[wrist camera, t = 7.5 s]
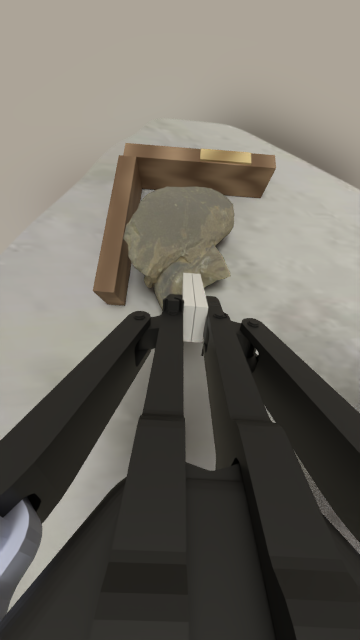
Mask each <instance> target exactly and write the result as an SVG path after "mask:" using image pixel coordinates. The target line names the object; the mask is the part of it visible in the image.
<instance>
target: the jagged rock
mask: <svg viewBox="0 0 360 640" xmlns="http://www.w3.org/2000/svg"><path fill="white" fill-rule="evenodd" d="M233 225H234V210H233V204H232V203H231V201H230V200H229V199H228V198H226V197H225V196H224V195H223V194H221V193H220V192H218V191H216V190H213V189H211V188H206V187H198V186H197V187H165V188H161V189H157V190H155V191H154V192H151V193H149V194H147V195H146V196H145V197H144V198H143V200H142V201H141V202H140V203H139V206H138V209H137V211H136V212H135V213H134V214H133V216H132V218H131V219H130V221H129V223H128V224H127V225H126V229H125V233H124V237H123V239H124V240H125V241H126V242H127V244H128V250H129V252H128V256H129V258H130V260H131V263H132V264H133V265H134V267H135V268H136V269H138V270H139V271H140V272H142V273H143V274H145V277H144V282H145V284H146V286H147V287H148V288H152V287H153V286H154V291H155V294H156V297H157V299H158V301H159V304H160V306H161V308H162V309H163V299H164V298H166V297H167V296H168V295H169V294H179V295H182V283H183V273H194V274H201V279H202V283H203V287H204V288H205V287H206V286H207V285H210V284H212V283H213V282H215V281H216V280H221V279H225V278H227V277H229V276H230V271H229V269H228V267H227V265H226V263H225V260H224V258H223V257H222V255H221V253H220V252H219V251H218V250H217V249H216V247H215V246H216V244H218V243H219V242H220V241H221V240H222V239H223V238H224V237H225V236H227V235H228V234H229V233H230V232H231V230H232V228H233Z"/></svg>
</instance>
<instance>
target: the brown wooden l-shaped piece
mask: <svg viewBox="0 0 360 640" xmlns="http://www.w3.org/2000/svg"><path fill="white" fill-rule="evenodd" d="M275 169H276V162H275V155H264V154H252V153H248V152H236V151H223V150H211V149H191V148H179V147H167V146H155V145H142V144H130V143H126V144H125V149H124V155H123V156H120V155H119V158H118V163H117V168H116V174H115V179H114V184H113V189H112V194H111V199H110V205H109V210H108V215H107V220H106V225H105V230H104V236H103V241H102V246H101V251H100V256H99V262H98V267H97V272H96V277H95V282H94V287H93V291H94V292H95V293H96V294H97V295H98V296H99V297H100V298H101V299H102V300H104V301H105V302H106V303H107V304H111V305H124V306H125V302H126V295H127V288H128V281H129V274H130V267H131V260H130V258H129V256H128V252H129V250H128V244H127V242H126V241H125V240H124V239H123V237H124V233H125V229H126V225H127V224H128V223H129V221H130V219H131V218H132V216H133V214H134V213H135V212H136V211H137V209H138V206H139V203H140V199H141V192H142V189H154V190H157V189H161V188H165V187H197V186H198V187H206V188H211V189H213V190H216V191H218V192H220V193H221V194H223V195H229V196H242V197H254V198H261V196H262V194H263V192H264V191H265V189H266V187H267V185H268V183H269V181H270V179H271V177H272V175H273V173H274V171H275Z"/></svg>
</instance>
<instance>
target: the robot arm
mask: <svg viewBox="0 0 360 640" xmlns="http://www.w3.org/2000/svg"><path fill="white" fill-rule="evenodd" d="M203 337H204V344H203V350H202V355H201V356H203V354H204V360H205V368H206V376H207V384H208V393H209V401H210V409H211V417H212V425H213V433H214V442H215V450H216V470H215V471H208V470H205V469H203V468H200V467H197V466H195V465H192V464H189V463H186V462H185V418H184V413H183V341H187V342H203ZM153 348H155V353H154V358H153V363H152V368H151V373H150V379H149V384H148V389H147V394H146V399H145V404H144V409H143V413H142V415H141V416H140V418H139V421H138V425H137V430H136V435H135V439H134V444H133V449H132V454H131V459H130V463H129V468H128V473H127V477H125V478H124V479H123V480H121V481H120V482H119V483H118V484H117V485H116V486H115V487H114V488H113V489H111V491H110V492H109V493H108V494H107V495H106V496H105V497H104V499H103V500H102V501H101V502H100V503H99V505H98V506H97V507H96V508H95V509H94V511H93V512H92V513H91V514H90V515H89V517H88V518H87V519H86V520H85V521H84V522H83V524H82V525H81V526H80V527H79V528H78V530H77V531H76V532H75V533H74V534H73V536H72V537H71V538H70V539H69V540H68V542H67V543H66V544H65V545H64V546H63V547H62V549H61V550H60V551H59V552H58V553H57V555H56V556H55V557H54V558H53V559H52V561H51V562H50V563H49V564H48V565H47V567H46V568H45V569H44V570H43V571H42V572H41V574H40V575H39V576H38V577H37V578H36V580H35V581H34V582H33V583H32V584H31V586H30V587H29V588H28V589H27V590H26V592H25V593H24V594H23V595H22V596H21V597H20V599H19V600H18V601H17V602H16V603H15V605H14V606H13V607H12V608H11V609H10V611H9V612H8V613H7V610H8V607H9V603H10V600H11V598H12V596H13V593H14V591H15V589H16V587H17V585H18V583H19V581H20V580H21V578H22V577H23V575H24V574H25V572H26V570H27V569H28V567H29V566H30V564H31V562H32V561H33V559H34V557H35V555H36V553H37V551H38V548H39V546H40V542H41V538H42V523H43V522H44V521H45V520H46V518H47V517H48V516H49V514H50V513H51V512H52V510H53V509H54V508H55V506H56V505H57V504H58V503H59V501H60V500H61V499H62V497H63V496H64V494H65V492H66V491H67V489H68V488H69V486H70V485H71V483H72V482H73V480H74V479H75V477H76V475H77V474H78V472H79V470H80V469H81V467H82V465H83V464H84V462H85V460H86V459H87V457H88V455H89V454H90V452H91V450H92V449H93V447H94V445H95V444H96V442H97V440H98V439H99V437H100V435H101V434H102V432H103V430H104V429H105V427H106V425H107V424H108V422H109V420H110V419H111V417H112V415H113V414H114V412H115V410H116V409H117V407H118V405H119V404H120V402H121V400H122V399H123V397H124V395H125V394H126V392H127V390H128V389H129V387H130V385H131V384H132V382H133V380H134V379H135V377H136V375H137V374H138V372H139V370H140V369H141V367H142V365H143V364H144V362H145V360H146V359H147V357H148V355H149V354H150V352H151V349H153ZM256 349H257V351H258V353H259V355H257V354H256V353H255V352H256ZM263 403H264V404H263ZM264 405H265V406H264ZM265 407H266V408H267V410H268V411H269V413H270V414H271V416H272V417H273V419H274V420H275V422H276V423H273V422H272V421H271V420H270V418H269V416H268V414H267V411H266V409H265ZM294 451H295V453H296V454H297V456H298V457H299V459H300V460H301V462H302V463H303V465H304V467H305V468H306V470H307V471H308V473H309V474H310V476H311V477H312V479H313V480H314V482H315V483H316V485H317V487H318V488H319V490H320V491H321V493H322V494H323V496H324V497H325V498H326V500H327V501H328V503H329V504H330V506H331V507H332V509H333V510H334V511H335V513H336V514H337V515H338V517H339V518H340V519H341V520H342V522H343V523H344V524H345V525H346V527H347V528H348V529H349V531H350V532H351V533H352V534H353V535H354V537H355V538H356V539H357V540H358V541H359V542H360V413H359V412H358V411H356V410H355V409H354V408H353V407H352V406H351V405H350V404H349V403H348V402H347V401H346V400H345V399H344V398H343V397H341V396H340V395H339V394H338V393H337V392H336V391H335V390H334V389H333V388H332V387H331V386H330V385H329V384H327V383H326V382H325V381H324V380H323V379H322V378H321V377H320V376H319V375H318V374H317V373H316V372H315V371H314V370H312V369H311V368H310V367H309V366H308V365H307V364H306V363H305V362H304V361H303V360H302V359H301V358H300V357H298V356H297V355H296V354H295V353H294V352H293V351H292V350H291V349H290V348H289V347H288V346H287V345H286V344H284V343H283V342H282V341H281V340H280V339H279V338H278V337H277V336H276V335H275V334H274V333H273V332H272V331H271V330H269V329H268V328H267V327H266V326H265V325H264V324H263V323H262V322H260V321H258V320H256V319H253V318H246V319H243V320H242V323H237V322H233V321H231V320H230V317H229V316H228V314H226V313H224V312H223V310H222V307H221V305H220V302H219V300H218V299H217V298H216V297H213V296H206V295H205V291H204V287H203V283H202V279H201V274H194V273H183V283H182V295H179V294H169V295H168V296H167V297H166V298H164V299H163V309H162V315H160V316H157V317H151V316H150V314H149V313H147V312H144V311H136V312H133V313H131V314H129V315H128V316H127V317H126V318H125V319H124V320H123V321H122V322H121V323H120V324H119V325H118V326H117V327H116V328H115V329H114V330H113V331H112V332H111V333H110V334H109V335H108V336H107V337H106V338H105V339H104V340H103V341H102V342H101V343H100V344H99V345H98V346H97V347H96V348H95V349H94V350H92V351H91V352H90V353H89V354H88V355H87V356H86V357H85V358H84V359H83V360H82V361H81V362H80V363H79V364H78V365H77V366H76V367H75V368H74V369H73V370H72V371H71V372H70V373H69V374H68V375H67V376H66V377H65V378H64V379H63V380H62V381H61V382H60V383H59V384H58V385H57V386H56V387H55V388H54V389H53V390H52V391H51V392H50V393H49V394H48V395H46V396H45V397H44V398H43V399H42V400H41V401H40V402H39V403H38V404H37V405H36V406H35V407H34V408H33V409H32V410H31V411H30V412H29V413H28V414H27V415H26V416H25V417H24V418H23V419H22V420H21V421H20V422H19V423H18V424H17V425H16V426H15V427H14V428H13V429H12V430H11V431H10V432H9V433H8V434H7V435H6V436H5V437H4V438H3V439H2V440H0V640H360V554H359V553H358V552H357V551H356V550H355V549H354V548H353V547H352V545H351V544H350V543H349V542H348V541H347V540H346V539H345V538H344V537H343V536H342V535H341V534H340V532H339V531H338V530H337V529H336V528H335V527H334V526H333V525H332V524H331V523H330V522H329V521H328V520H327V518H326V517H325V516H324V515H323V514H322V513H321V511H320V509H319V507H318V505H317V502H316V500H315V498H314V496H313V493H312V491H311V489H310V487H309V484H308V482H307V480H306V477H305V475H304V473H303V471H302V468H301V466H300V464H299V462H298V459H297V457H296V455H295V453H294Z"/></svg>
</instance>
